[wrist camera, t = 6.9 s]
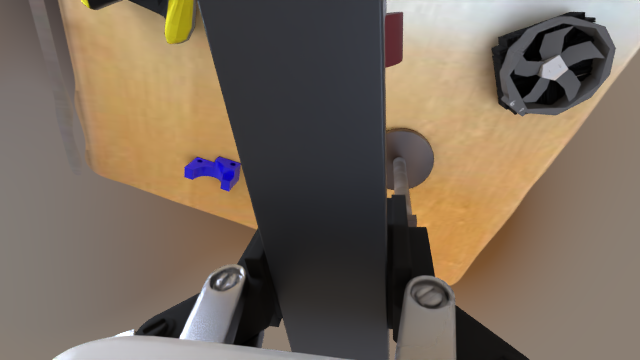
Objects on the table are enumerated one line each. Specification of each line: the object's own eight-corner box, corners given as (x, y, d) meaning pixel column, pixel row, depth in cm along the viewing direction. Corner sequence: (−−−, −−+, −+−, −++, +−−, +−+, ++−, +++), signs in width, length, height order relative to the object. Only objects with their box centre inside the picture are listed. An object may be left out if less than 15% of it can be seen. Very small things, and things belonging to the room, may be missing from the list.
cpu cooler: (618, 0, 29) (615, 100, 33) (584, 1, 34) (585, 88, 38) (498, 41, 32) (509, 128, 36) (483, 37, 37) (494, 114, 41)
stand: (435, 127, 44) (468, 204, 27) (430, 187, 48) (454, 284, 31) (365, 128, 46) (354, 201, 29) (366, 186, 50) (357, 277, 33)
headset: (401, -15, 17) (433, -58, 5) (398, 233, 25) (408, 441, 13) (309, -1, 18) (155, -10, 6) (336, 231, 26) (294, 421, 14)
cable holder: (240, 163, 53) (230, 174, 49) (238, 179, 55) (228, 191, 51) (197, 149, 53) (184, 159, 50) (196, 166, 55) (184, 177, 51)
